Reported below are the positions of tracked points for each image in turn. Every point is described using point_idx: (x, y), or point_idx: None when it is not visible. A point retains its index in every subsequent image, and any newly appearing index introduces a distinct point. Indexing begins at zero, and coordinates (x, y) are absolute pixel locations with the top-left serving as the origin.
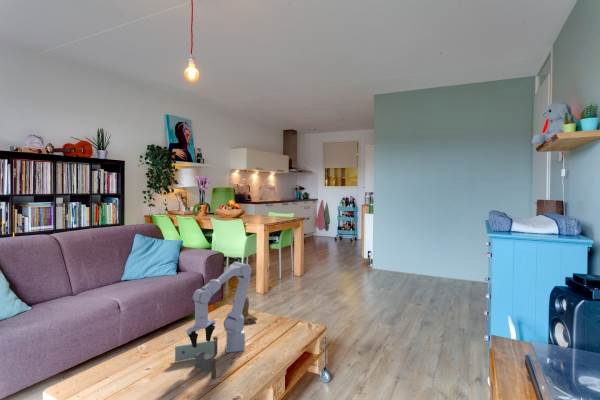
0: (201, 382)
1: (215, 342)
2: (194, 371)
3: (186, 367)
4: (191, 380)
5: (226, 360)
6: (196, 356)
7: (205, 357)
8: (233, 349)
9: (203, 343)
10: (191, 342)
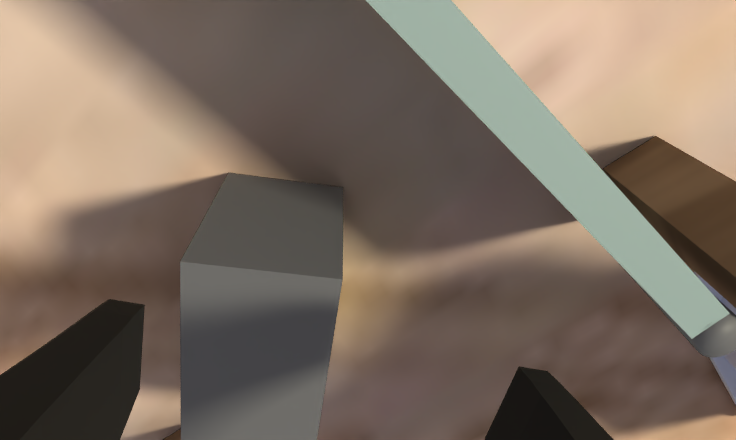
0: None
1: (677, 327)
2: (160, 230)
3: (162, 74)
4: (23, 315)
5: (512, 373)
6: (186, 286)
7: (214, 437)
8: (727, 358)
9: (554, 192)
10: (21, 362)
